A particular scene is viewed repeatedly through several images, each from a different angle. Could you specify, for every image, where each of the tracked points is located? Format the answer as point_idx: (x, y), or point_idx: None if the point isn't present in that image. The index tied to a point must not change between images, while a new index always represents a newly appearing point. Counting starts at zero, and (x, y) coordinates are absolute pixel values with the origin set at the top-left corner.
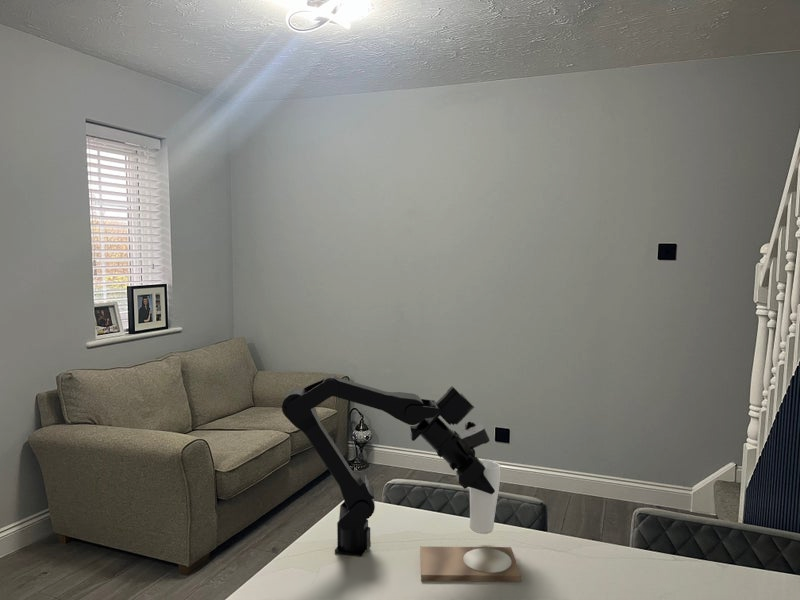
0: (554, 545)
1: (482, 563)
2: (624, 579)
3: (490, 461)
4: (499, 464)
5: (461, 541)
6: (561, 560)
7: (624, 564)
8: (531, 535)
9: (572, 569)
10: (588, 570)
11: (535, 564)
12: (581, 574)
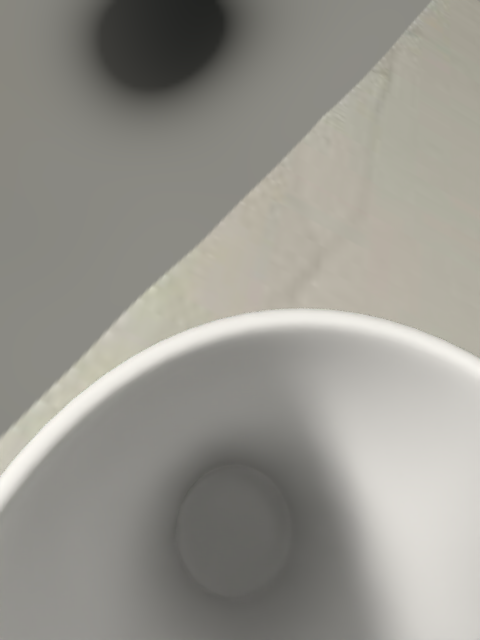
0: (282, 261)
1: None
2: (467, 203)
3: (90, 415)
4: (350, 313)
5: None
6: (371, 288)
7: (402, 166)
8: (201, 293)
9: (420, 286)
10: (426, 252)
11: None
12: (445, 278)
